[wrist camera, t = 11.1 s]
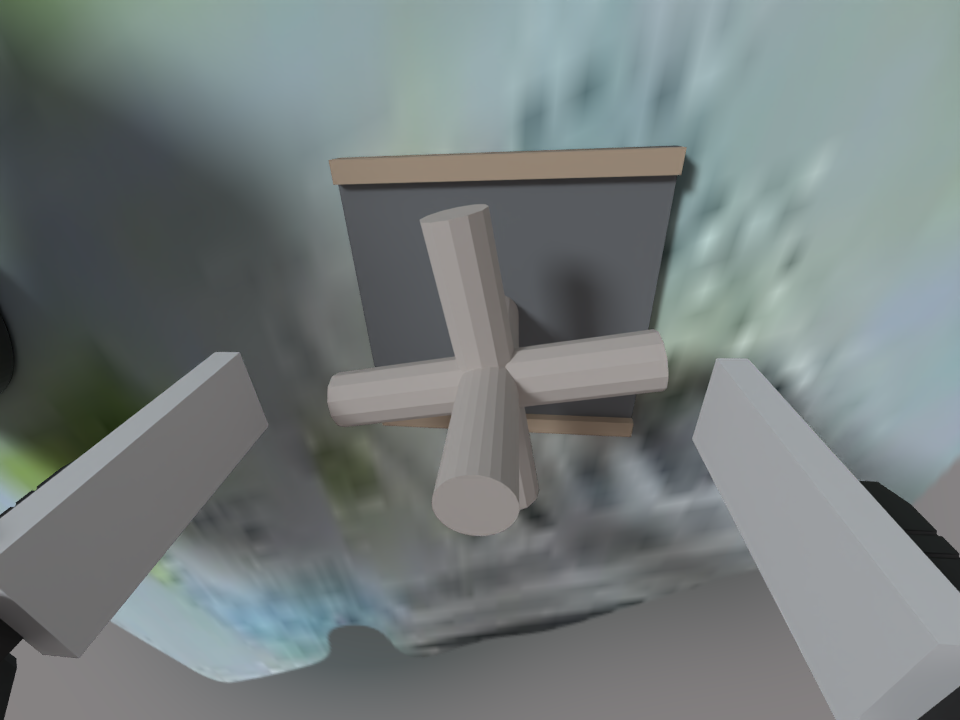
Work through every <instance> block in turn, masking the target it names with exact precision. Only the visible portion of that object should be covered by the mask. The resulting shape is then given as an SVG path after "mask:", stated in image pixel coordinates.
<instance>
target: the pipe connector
mask: <svg viewBox="0 0 960 720" xmlns="http://www.w3.org/2000/svg"><path fill="white" fill-rule="evenodd" d="M420 224H421V227H422V231H423V235H424V239H425V243H426V247H427V250H428V254H429V258H430V262H431V266H432V270H433V274H434V277H435V281H436V285H437V289H438V293H439V297H440V301H441V304H442V308H443V312H444V316H445V320H446V324H447V328H448V331H449V335H450V339H451V343H452V347H453V351H454V355H455V356H454V357H447V358H440V359H432V360H425V361H418V362H410V363H403V364H396V365H389V366H381V367H374V368H367V369H359V370H352V371H345V372H338V373H337V374H335V375H334V376H332V377H331V380H330V383H329V385H328V390H327V403H328V407H329V411H330V414H331V417H332V418H333V420H334V421H335V422H336V424H337V425H338V426H343V427H349V426H358V425H367V424H376V423H385V422H394V421H403V420H411V419H420V418H429V417H438V416H447V415H451V419H450V423H449V428H448V432H447V436H446V441H445V445H444V449H443V454H442V458H441V462H440V467H439V471H438V475H437V480H436V484H435V488H434V493H433V497H432V508H433V511H434V513H435V515H436V517H437V518H438V519H439V520H440V521H441V522H442V523H443V524H444V525H445V526H447V527H449V528H450V529H452V530H454V531H457V532H459V533H462V534H466V535H471V536H487V535H494V534H497V533H499V532H502V531H504V530H506V529H507V528H509V527H510V526H511V525H512V524H513V523H514V522H515V521H516V519H517V517H518V514H519V510H521V509H524V508H527V507H528V506H530V505H531V504H532V503H533V502H534V501H535V500H536V499H537V495H538V492H539V485H538V480H537V474H536V469H535V463H534V457H533V452H532V446H531V441H530V435H529V429H528V424H527V418H526V413H525V407H527V406H535V405H544V404H553V403H562V402H571V401H580V400H589V399H598V398H606V397H615V396H624V395H633V394H642V393H651V392H660V391H664V390H665V389H666V388H667V384H668V377H669V375H668V360H667V355H666V351H665V346H664V342H663V340H662V338H661V336H660V333H659V332H658V331H656V330H655V329H651V330H644V331H636V332H629V333H622V334H614V335H607V336H600V337H593V338H585V339H578V340H571V341H563V342H556V343H549V344H542V345H534V346H527V347H520V348H519V314H518V308H517V306H516V304H515V303H514V301H513V300H512V299H510V298H509V297H507V296H505V295H504V290H503V284H502V278H501V273H500V267H499V262H498V256H497V250H496V245H495V239H494V234H493V228H492V222H491V217H490V211H489V206H488V205H486V204H474V205H467V206H461V207H456V208H452V209H447V210H443V211H440V212H437V213H434V214H431V215H428V216H426V217H424V218H422V219H420Z"/></svg>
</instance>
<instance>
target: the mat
mask: <svg viewBox="0 0 960 720" xmlns="http://www.w3.org/2000/svg"><path fill="white" fill-rule="evenodd" d="M685 153H686V147H682V146H652V147H625V148H597V149H570V150H542V151H515V152H487V153H460V154H432V155H405V156H377V157H350V158H337V159H332V160H329V164H330V169H331V174H332V179H333V184H334V185H339V190H340V195H341V200H342V205H343V210H344V215H345V220H346V225H347V230H348V235H349V240H350V245H351V250H352V255H353V260H354V265H355V270H356V275H357V280H358V285H359V290H360V295H361V300H362V305H363V310H364V315H365V320H366V325H367V330H368V335H369V340H370V345H371V350H372V355H373V360H374V365H375V367H381V366H389V365H396V364H403V363H410V362H418V361H425V360H432V359H440V358H447V357H454V356H455V355H454V351H453V347H452V343H451V339H450V335H449V331H448V328H447V324H446V320H445V316H444V312H443V308H442V304H441V301H440V297H439V293H438V289H437V285H436V281H435V277H434V274H433V270H432V266H431V262H430V258H429V254H428V250H427V247H426V243H425V239H424V235H423V231H422V227H421V224H420V219H422V218H424V217H426V216H428V215H431V214H434V213H437V212H440V211H443V210H447V209H452V208H456V207H461V206H467V205H474V204H486V205H488V206H489V211H490V217H491V222H492V228H493V234H494V239H495V245H496V250H497V256H498V262H499V267H500V273H501V278H502V284H503V290H504V295H505V296H507V297H509V298H510V299H512V300H513V301H514V303H515V304H516V306H517V308H518V314H519V348H520V347H527V346H534V345H542V344H549V343H556V342H563V341H571V340H578V339H585V338H593V337H600V336H607V335H614V334H622V333H629V332H636V331H644V330H648V329H649V323H650V318H651V313H652V307H653V302H654V297H655V291H656V286H657V281H658V275H659V270H660V265H661V259H662V254H663V249H664V243H665V238H666V233H667V227H668V222H669V217H670V211H671V206H672V201H673V195H674V190H675V185H676V179H677V175H681V173H682V168H683V163H684V158H685ZM635 398H636V394H633V395H624V396H615V397H606V398H598V399H589V400H580V401H571V402H562V403H553V404H544V405H535V406H527V407H525V413H526V418H527V424H528V429H529V432H534V433H556V434H577V435H599V436H620V437H631V434H632V429H633V420H632V414H633V409H634V403H635ZM450 419H451V415H447V416H438V417H429V418H420V419H411V420H403V421H394V422H385V423H383V425H385V426H406V427H428V428H449V423H450Z"/></svg>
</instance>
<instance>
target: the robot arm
mask: <svg viewBox="0 0 960 720" xmlns="http://www.w3.org/2000/svg"><path fill="white" fill-rule="evenodd" d="M13 361H14V359H13V351H12V345H11V341H10V338H9V335H8V332H7V329H6V326H5V324H4V322H3V320H2V317H1V315H0V393H1V392H2V391H3V390H4V389H5V388H6V387H7V385H8V384H9V382H10V379H11V376H12V373H13ZM268 426H269V424H268V422H267V419H266V417H265V414H264V412H263V409H262V407H261V404H260V402H259V399H258V397H257V394H256V392H255V389H254V387H253V384H252V382H251V379H250V377H249V374H248V372H247V369H246V367H245V364H244V362H243V359H242V356H241V354H240V352H215V353H213V354H212V355H211V356H209V357H208V358H207V359H205V360H204V361H203V362H202V363H200V364H199V365H198V366H196V367H195V368H194V369H193V370H191V371H190V372H189V373H187V374H186V375H185V376H184V377H182V378H181V379H180V380H178V381H177V382H176V383H174V384H173V385H172V386H171V387H169V388H168V389H167V390H165V391H164V392H163V393H162V394H160V395H159V396H158V397H156V398H155V399H154V400H153V401H151V402H150V403H149V404H147V405H146V406H145V407H144V408H142V409H141V410H140V411H138V412H137V413H136V414H134V415H133V416H132V417H131V418H129V419H128V420H127V421H125V422H124V423H123V424H122V425H120V426H119V427H118V428H116V429H115V430H114V431H113V432H111V433H110V434H109V435H107V436H106V437H105V438H103V439H102V440H101V441H100V442H98V443H97V444H96V445H94V446H93V447H92V448H91V449H89V450H88V451H87V452H85V453H84V454H83V455H82V456H80V457H79V458H78V459H76V460H75V461H73V462H71V463H69V464H67V465H65V466H64V467H62V468H60V469H59V470H58V471H57V472H55V473H54V474H53V475H51V476H50V477H49V478H47V479H46V480H45V481H44V482H42V483H41V484H40V485H38V486H37V489H36V490H35V491H31V492H29V493H28V494H27V495H25V496H24V497H23V498H21V499H20V500H19V501H17V502H16V506H15V507H10V508H8V509H7V510H6V511H4V512H3V513H2V514H1V515H0V720H4V717H5V712H6V709H7V705H8V701H9V697H10V693H11V689H12V685H13V681H14V677H15V673H16V669H17V664H16V658H15V657H14V656H12V655H11V654H10V652H11V651H12V649H13V648H14V647H15V646H16V645H17V644H18V643H19V642H20V641H21V640H22V639H24V640H25V641H27V642H28V643H29V644H30V645H31V646H33V647H34V648H35V649H36V650H38V651H39V652H40V653H41V654H42V655H51V656H61V657H71V658H80V657H81V655H82V654H83V653H84V652H85V650H86V649H87V648H88V647H89V646H90V644H91V643H92V642H93V641H94V640H95V638H96V637H97V636H98V634H99V633H100V632H101V631H102V630H103V628H104V627H105V626H106V625H107V624H108V622H109V621H110V620H111V619H112V617H113V616H114V615H115V614H116V613H117V611H118V610H119V609H120V608H121V606H122V605H123V604H124V603H125V602H126V600H127V599H128V598H129V597H130V595H131V594H132V593H133V592H134V590H135V589H136V588H137V587H138V586H139V584H140V583H141V582H142V581H143V579H144V578H145V577H146V576H147V575H148V573H149V572H150V571H151V570H152V568H153V567H154V566H155V565H156V564H157V562H158V561H159V560H160V559H161V557H162V556H163V555H164V554H165V553H166V551H167V550H168V549H169V548H170V546H171V545H172V544H173V543H174V541H175V540H176V539H177V538H178V537H179V535H180V534H181V533H182V532H183V530H184V529H185V528H186V527H187V526H188V524H189V523H190V522H191V521H192V519H193V518H194V517H195V516H196V515H197V513H198V512H199V511H200V510H201V508H202V507H203V506H204V505H205V504H206V502H207V501H208V500H209V499H210V497H211V496H212V495H213V494H214V492H215V491H216V490H217V489H218V488H219V486H220V485H221V484H222V483H223V481H224V480H225V479H226V478H227V477H228V475H229V474H230V473H231V472H232V470H233V469H234V468H235V467H236V466H237V464H238V463H239V462H240V461H241V459H242V458H243V457H244V456H245V454H246V453H247V452H248V451H249V450H250V448H251V447H252V446H253V445H254V443H255V442H256V441H257V440H258V439H259V437H260V436H261V435H262V434H263V432H264V431H265V430H266V429H267V428H268ZM692 440H693V442H694V444H695V446H696V448H697V450H698V452H699V453H700V455H701V457H702V459H703V461H704V463H705V465H706V467H707V469H708V471H709V473H710V475H711V477H712V479H713V481H714V483H715V485H716V487H717V489H718V491H719V493H720V495H721V497H722V498H723V500H724V502H725V504H726V506H727V508H728V510H729V512H730V514H731V516H732V518H733V520H734V522H735V524H736V526H737V528H738V530H739V532H740V534H741V536H742V538H743V540H744V542H745V544H746V545H747V547H748V549H749V551H750V553H751V555H752V557H753V559H754V561H755V563H756V565H757V567H758V569H759V571H760V573H761V575H762V576H763V579H764V581H765V583H766V585H767V587H768V589H769V590H770V592H771V594H772V596H773V598H774V600H775V602H776V604H777V606H778V608H779V610H780V612H781V614H782V616H783V618H784V620H785V622H786V624H787V626H788V628H789V629H790V632H791V634H792V635H793V637H794V639H795V641H796V643H797V645H798V647H799V649H800V651H801V653H802V655H803V657H804V659H805V661H806V663H807V665H808V666H809V669H810V671H811V673H812V675H813V676H814V679H815V681H816V682H817V684H818V686H819V688H820V690H821V692H822V694H823V696H824V698H825V700H826V702H827V704H828V706H829V708H830V710H831V712H832V714H833V716H834V718H835V720H960V558H959V553H958V552H957V551H956V550H955V549H954V548H953V547H952V546H951V545H950V544H949V543H948V542H947V541H946V540H945V539H944V538H943V537H942V536H938V535H937V534H936V532H937V531H936V530H935V529H934V528H933V527H932V525H931V524H929V523H928V521H927V520H926V519H925V518H924V517H923V516H922V515H921V514H920V513H918V511H917V510H916V509H915V508H914V507H913V506H912V505H911V504H909V503H908V502H906V501H905V500H904V499H902V498H901V497H899V496H898V495H896V494H895V493H893V492H892V491H890V490H889V489H887V488H886V487H884V486H883V485H881V484H880V483H878V482H870V481H858V480H857V478H856V477H855V476H854V475H853V474H852V473H851V472H850V471H849V470H848V469H847V467H846V466H845V465H844V464H843V463H842V462H841V461H840V460H839V459H838V457H837V456H836V455H835V454H834V453H833V452H832V451H831V450H830V449H829V448H828V446H827V445H826V444H825V443H824V442H823V441H822V440H821V439H820V438H819V436H818V435H817V434H816V433H815V432H814V431H813V430H812V429H811V428H810V427H809V425H808V424H807V423H806V422H805V421H804V420H803V419H802V418H801V417H800V415H799V414H798V413H797V412H796V411H795V410H794V409H793V408H792V407H791V406H790V404H789V403H788V402H787V401H786V400H785V399H784V398H783V397H782V396H781V394H780V393H779V392H778V391H777V390H776V389H775V388H774V387H773V386H772V384H771V383H770V382H769V381H768V380H767V379H766V378H765V377H764V376H763V375H762V373H761V372H760V371H759V370H758V369H757V368H756V367H755V366H754V365H753V363H752V362H751V361H750V360H749V359H743V358H716V361H715V365H714V368H713V371H712V375H711V378H710V381H709V385H708V388H707V391H706V395H705V398H704V401H703V405H702V408H701V411H700V415H699V418H698V421H697V425H696V428H695V431H694V435H693V438H692Z"/></svg>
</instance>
